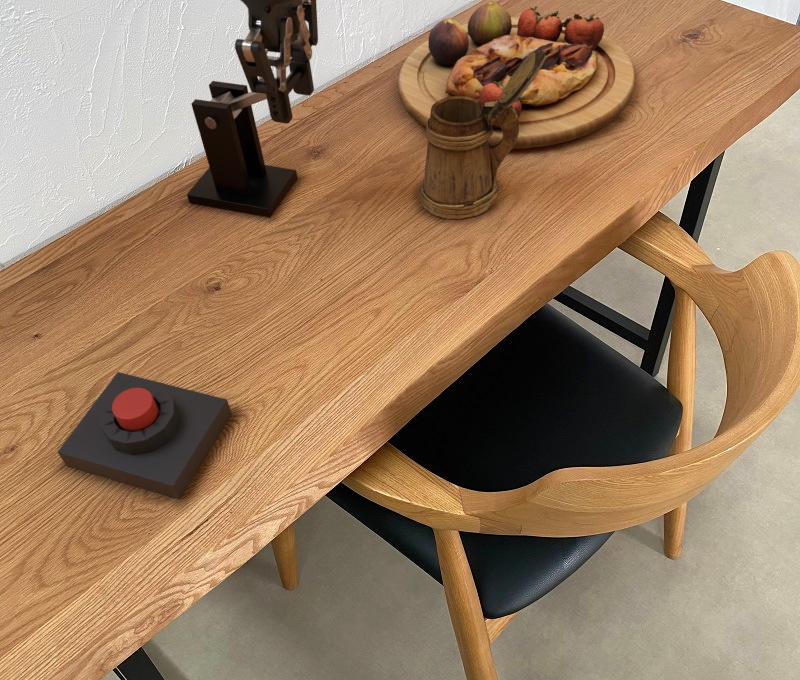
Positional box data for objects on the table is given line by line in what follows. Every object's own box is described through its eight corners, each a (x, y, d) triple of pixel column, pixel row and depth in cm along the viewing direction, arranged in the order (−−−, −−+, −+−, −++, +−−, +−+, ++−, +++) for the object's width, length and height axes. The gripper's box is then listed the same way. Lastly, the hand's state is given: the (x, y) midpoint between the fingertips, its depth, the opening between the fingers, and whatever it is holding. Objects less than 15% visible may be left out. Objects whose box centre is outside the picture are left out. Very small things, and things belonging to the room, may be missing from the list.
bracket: (298, 178, 99) (279, 81, 89) (270, 217, 94) (247, 120, 84) (220, 165, 102) (193, 70, 92) (189, 203, 97) (158, 107, 87)
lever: (309, 80, 86) (297, 59, 84) (289, 104, 83) (277, 83, 81) (230, 110, 92) (218, 91, 91) (210, 133, 89) (197, 114, 88)
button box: (66, 466, 73) (48, 440, 70) (125, 386, 79) (111, 359, 75) (180, 499, 70) (166, 474, 67) (232, 413, 75) (222, 386, 72)
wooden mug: (531, 225, 90) (543, 75, 76) (414, 216, 93) (405, 69, 79) (538, 178, 96) (550, 30, 82) (427, 171, 98) (421, 26, 84)
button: (110, 425, 71) (103, 413, 69) (132, 395, 73) (125, 383, 71) (145, 435, 70) (138, 423, 68) (165, 404, 72) (160, 392, 70)
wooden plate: (579, 180, 95) (587, 117, 89) (354, 119, 106) (347, 60, 100) (666, 55, 112) (678, -5, 105) (463, 15, 123) (463, -42, 117)
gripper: (260, -96, 78) (289, 69, 91) (188, -34, 70) (232, 138, 83) (330, -91, 76) (350, 77, 89) (265, -27, 68) (297, 148, 81)
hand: (293, 106), depth 86 cm, fingers closed on lever, 5 cm apart
